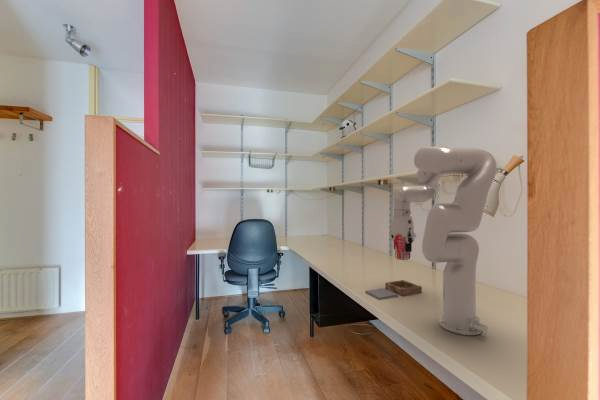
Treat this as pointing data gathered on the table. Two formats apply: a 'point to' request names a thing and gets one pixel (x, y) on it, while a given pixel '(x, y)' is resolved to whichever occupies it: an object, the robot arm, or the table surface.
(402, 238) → the soda can
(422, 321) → the table surface
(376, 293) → the mat
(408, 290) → the brown wooden tray
